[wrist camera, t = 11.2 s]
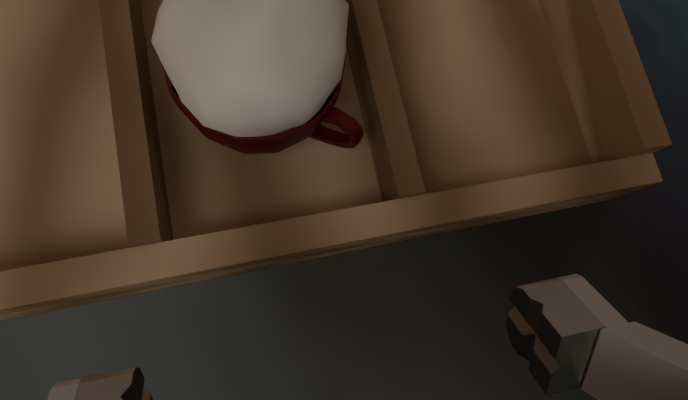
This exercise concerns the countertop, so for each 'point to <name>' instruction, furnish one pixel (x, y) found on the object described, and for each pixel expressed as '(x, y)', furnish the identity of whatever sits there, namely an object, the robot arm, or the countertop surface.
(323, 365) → the countertop surface
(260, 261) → the oak compartment tray
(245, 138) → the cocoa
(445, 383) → the countertop surface
